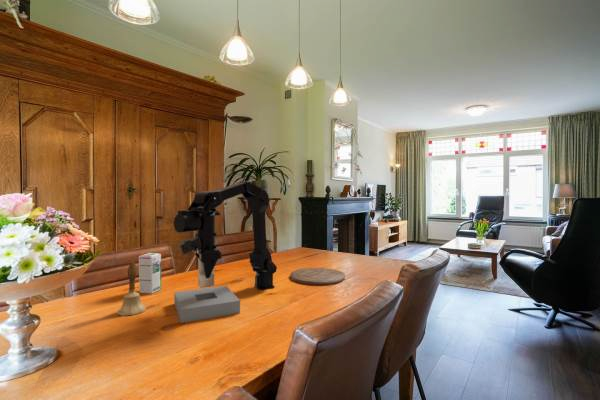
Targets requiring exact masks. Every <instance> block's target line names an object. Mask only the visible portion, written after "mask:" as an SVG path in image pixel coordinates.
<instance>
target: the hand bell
mask: <svg viewBox="0 0 600 400" xmlns="http://www.w3.org/2000/svg"><path fill="white" fill-rule="evenodd" d="M137 271H138V270H137V266H136V264H135V261H130V262H129V266H128V268H127V278H128V281H129V283H128V285H129V286H128V293H126V294H125V295H124V296H123V300H122V305H121V306H120V308H119V309H118V310H117V312H116V314H117V316H118V315H119V316H124V317H125V316H134V315H139V314H141V313H143V312H145V311H147V307H146V306H145V305H144V304H143V303H142V301H141V296H140V292H136V285H135V284H136V283H135V281H136V278H137V273H138V272H137Z"/></svg>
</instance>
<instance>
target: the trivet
mask: <svg viewBox="0 0 600 400" xmlns="http://www.w3.org/2000/svg"><path fill="white" fill-rule="evenodd" d="M289 277H290V280H291V279H292V280H291V281H292V282H294V283H297V284H301V283H302V285H306V284H308V285H307V286H331V285H330V284H333V285H337V284H336V283H338V284H341V283H342V281H343V280H344V281H345V280H346V274H345V273H344V272H342V271H340V270H337V269H333V268H328V267H304V268H303V267H302V268H298V269H294V270H293V271H291V273H290V275H289ZM344 281H343V282H344ZM340 282H341V283H340Z"/></svg>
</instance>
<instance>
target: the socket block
mask: <svg viewBox="0 0 600 400" xmlns="http://www.w3.org/2000/svg"><path fill="white" fill-rule="evenodd" d="M173 294H174V295H173V296H174V307H175V310H176V313H177V317H178V319H179V322H180V324H183V323H188V322H190V323H191V322H195V321H201V320H207V319H213V318H217V317H224V316H230V315H236V314H241V299H240V298H238V297H237V295H235V294H234V292H233V291H232V290H231V288H229V287H228V286H227V285H222V286H212V287H204V288H197V289H190V290H182V291H175V292H174V293H173Z"/></svg>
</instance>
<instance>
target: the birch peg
mask: <svg viewBox="0 0 600 400" xmlns="http://www.w3.org/2000/svg"><path fill="white" fill-rule="evenodd" d="M197 259H198V258H197ZM197 262H198V263H197V267H198V268H197V269H198V270H197V271H198V272H197V273H198V274H197V279H198V280H197V281H198V283H197V285H198V286H199V289H204V288H212V287H215V268H214V269H213V271H212V273H211V275H210V278H206V276H205V271H204V265H203V262H202V261H200V260H199V259H198V261H197Z"/></svg>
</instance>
